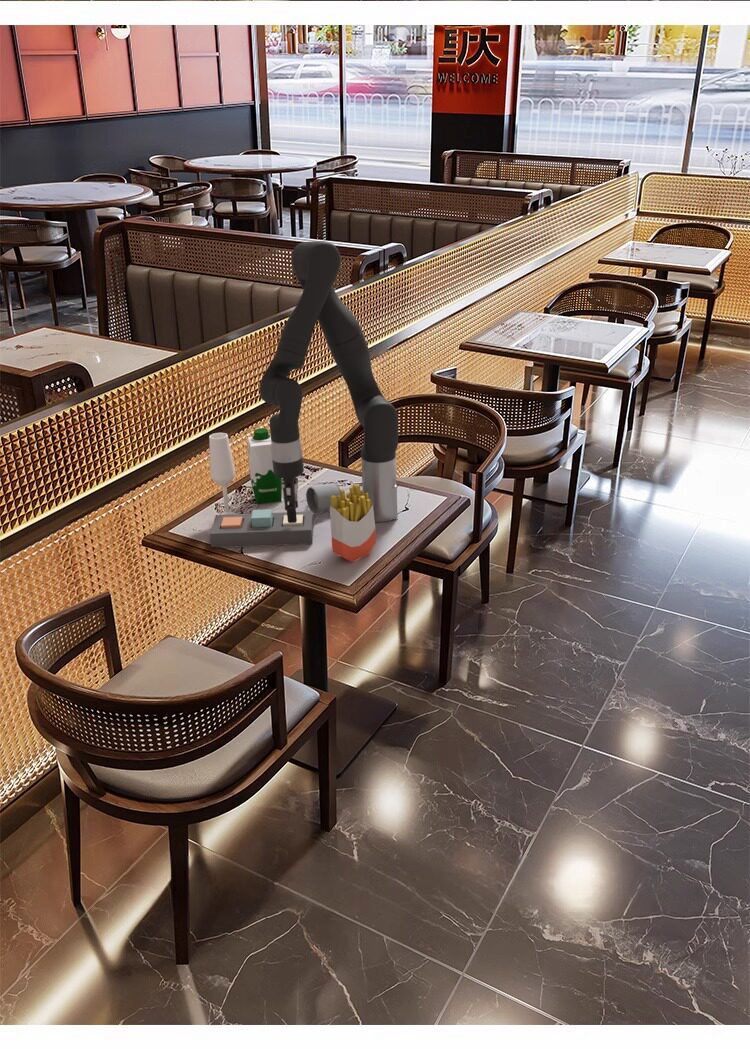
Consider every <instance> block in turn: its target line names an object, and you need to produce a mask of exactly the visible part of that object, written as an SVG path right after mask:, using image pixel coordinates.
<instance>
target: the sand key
mask: <svg viewBox="0 0 750 1049" xmlns="http://www.w3.org/2000/svg"><path fill="white" fill-rule="evenodd" d="M296 517H297V522H296V523H288V518H287V515H284V519H283V526H304V521H303V515H296Z"/></svg>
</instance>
